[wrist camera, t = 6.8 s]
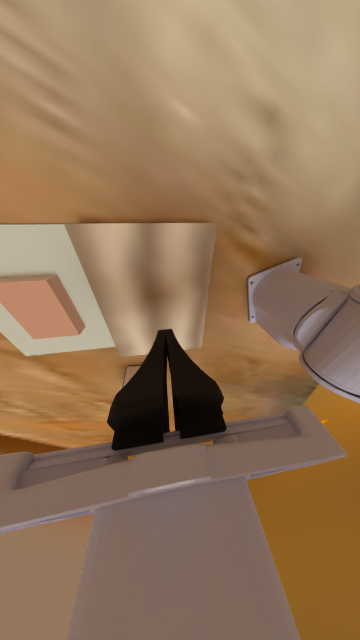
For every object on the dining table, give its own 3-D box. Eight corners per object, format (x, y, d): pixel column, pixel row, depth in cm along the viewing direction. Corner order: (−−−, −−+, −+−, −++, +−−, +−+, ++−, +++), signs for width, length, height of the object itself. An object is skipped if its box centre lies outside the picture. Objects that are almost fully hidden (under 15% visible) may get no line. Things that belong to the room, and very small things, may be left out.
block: (-18, 283, 14) (1, 277, 15) (33, 339, 18) (43, 330, 20) (46, 280, 14) (57, 274, 16) (79, 334, 19) (85, 326, 20)
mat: (77, 224, 14) (75, 224, 13) (122, 344, 24) (121, 345, 24) (-107, 225, 12) (-114, 225, 12) (27, 354, 22) (25, 356, 22)
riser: (207, 223, 15) (217, 222, 13) (197, 336, 26) (201, 347, 23) (80, 224, 14) (63, 223, 11) (123, 344, 24) (120, 357, 22)
